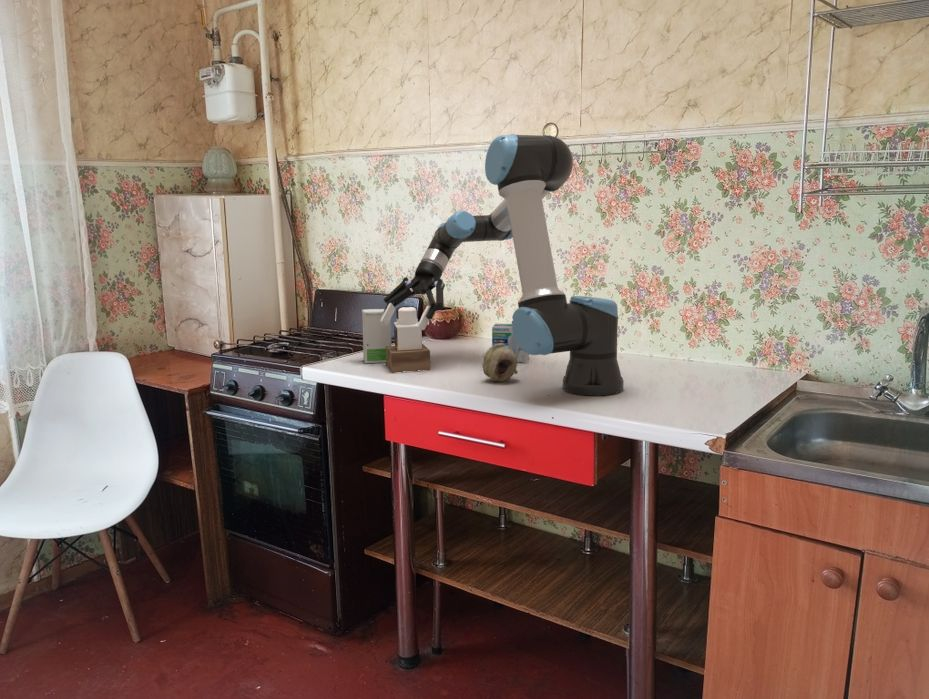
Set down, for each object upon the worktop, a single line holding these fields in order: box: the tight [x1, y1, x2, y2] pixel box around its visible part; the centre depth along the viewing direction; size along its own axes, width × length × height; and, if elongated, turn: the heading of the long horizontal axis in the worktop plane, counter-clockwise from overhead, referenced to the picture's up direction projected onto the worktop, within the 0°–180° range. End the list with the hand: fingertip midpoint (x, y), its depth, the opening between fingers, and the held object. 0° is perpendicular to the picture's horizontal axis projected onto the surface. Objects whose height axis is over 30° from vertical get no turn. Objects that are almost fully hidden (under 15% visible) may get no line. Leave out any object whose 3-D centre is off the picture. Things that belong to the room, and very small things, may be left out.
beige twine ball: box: [481, 343, 519, 383], centre depth 198 cm, size 10×8×10 cm
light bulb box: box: [491, 323, 530, 363], centre depth 223 cm, size 11×7×11 cm, turn 80°
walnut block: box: [385, 343, 432, 374], centre depth 217 cm, size 11×11×6 cm
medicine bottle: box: [393, 305, 423, 351], centre depth 215 cm, size 7×7×12 cm
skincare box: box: [361, 308, 392, 364], centre depth 226 cm, size 8×7×16 cm
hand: (401, 325), depth 213 cm, fingers open, 13 cm apart
